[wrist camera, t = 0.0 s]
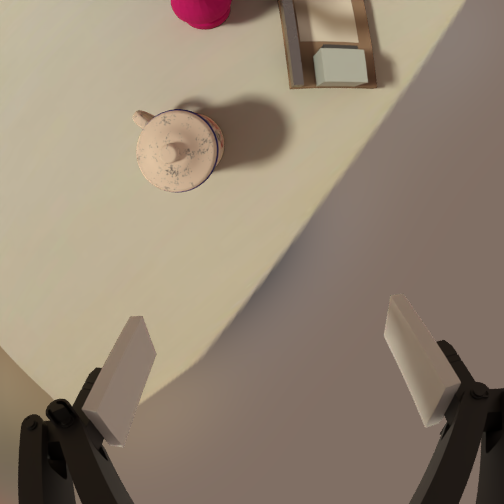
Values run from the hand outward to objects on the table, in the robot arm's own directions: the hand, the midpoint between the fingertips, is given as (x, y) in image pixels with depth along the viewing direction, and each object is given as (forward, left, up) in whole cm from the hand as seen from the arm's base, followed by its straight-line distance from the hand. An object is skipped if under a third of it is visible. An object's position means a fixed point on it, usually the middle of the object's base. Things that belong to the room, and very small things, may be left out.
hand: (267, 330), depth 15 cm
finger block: (-16, +11, -26) cm, 33 cm away
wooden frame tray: (-24, +11, -28) cm, 39 cm away
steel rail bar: (-24, +6, -26) cm, 36 cm away
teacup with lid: (-9, -9, -28) cm, 31 cm away
